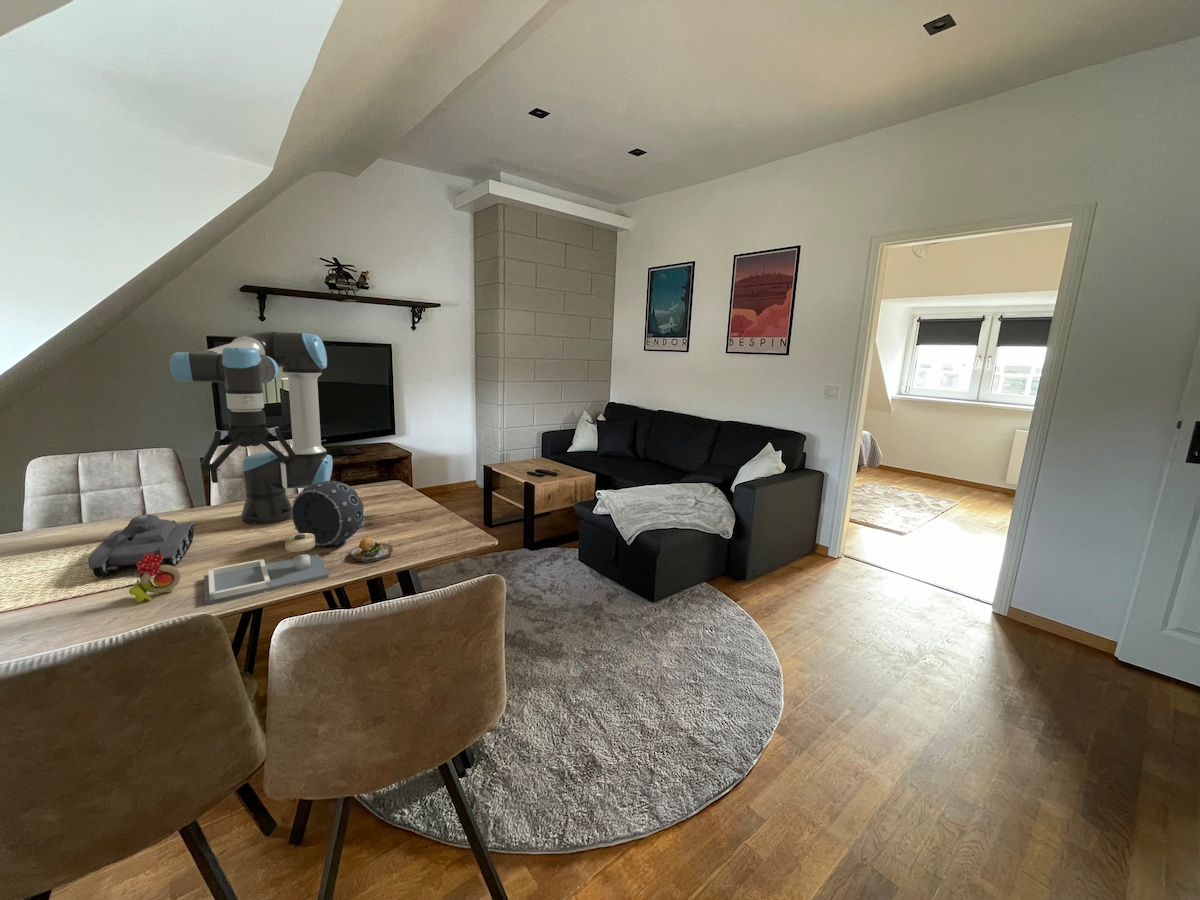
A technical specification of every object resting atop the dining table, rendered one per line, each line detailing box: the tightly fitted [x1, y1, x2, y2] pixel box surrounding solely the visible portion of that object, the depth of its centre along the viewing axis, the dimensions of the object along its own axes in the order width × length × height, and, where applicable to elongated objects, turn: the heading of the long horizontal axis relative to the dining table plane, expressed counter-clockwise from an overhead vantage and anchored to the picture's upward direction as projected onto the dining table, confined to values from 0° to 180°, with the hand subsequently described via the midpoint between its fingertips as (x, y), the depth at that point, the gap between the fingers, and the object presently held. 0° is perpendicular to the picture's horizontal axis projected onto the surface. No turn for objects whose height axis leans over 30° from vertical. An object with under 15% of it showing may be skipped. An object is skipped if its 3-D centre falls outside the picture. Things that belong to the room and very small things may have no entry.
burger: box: [348, 535, 393, 565], centre depth 144 cm, size 12×12×8 cm
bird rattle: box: [128, 553, 182, 603], centre depth 116 cm, size 6×11×9 cm
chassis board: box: [203, 552, 330, 606], centre depth 127 cm, size 16×26×4 cm, turn 129°
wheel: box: [284, 533, 317, 553], centre depth 131 cm, size 7×7×3 cm
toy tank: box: [87, 507, 197, 578], centre depth 134 cm, size 18×25×15 cm
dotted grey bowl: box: [291, 480, 365, 547], centre depth 150 cm, size 11×20×20 cm, turn 78°
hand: (254, 490), depth 125 cm, fingers open, 13 cm apart
